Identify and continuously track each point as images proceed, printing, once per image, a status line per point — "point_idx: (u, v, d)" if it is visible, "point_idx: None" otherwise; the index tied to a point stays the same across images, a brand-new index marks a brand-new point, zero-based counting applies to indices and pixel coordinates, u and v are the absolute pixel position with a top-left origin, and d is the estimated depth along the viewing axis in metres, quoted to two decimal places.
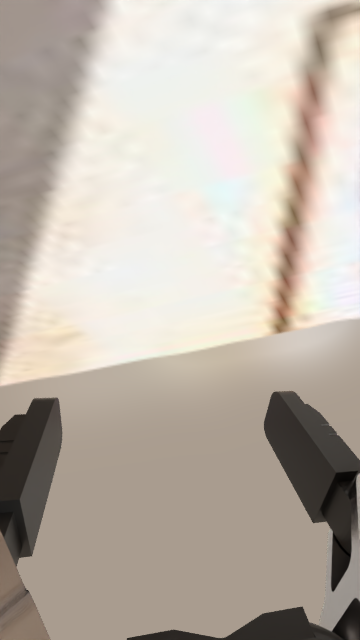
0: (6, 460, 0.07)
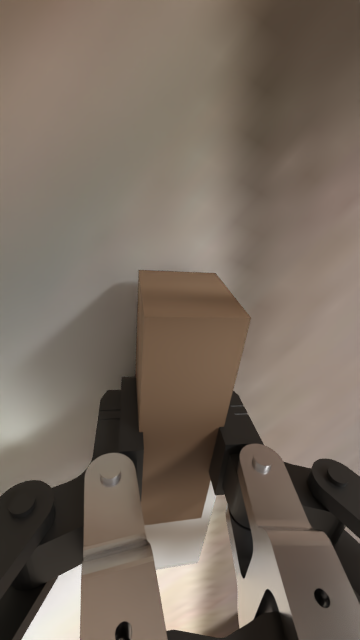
0: (120, 422, 0.09)
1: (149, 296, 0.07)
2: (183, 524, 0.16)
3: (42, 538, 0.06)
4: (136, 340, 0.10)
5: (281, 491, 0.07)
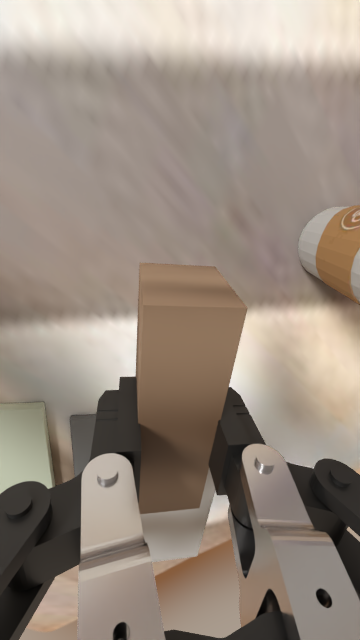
0: (118, 423, 0.09)
1: (148, 287, 0.08)
2: (182, 517, 0.16)
3: (38, 539, 0.06)
4: (137, 332, 0.11)
5: (284, 491, 0.07)
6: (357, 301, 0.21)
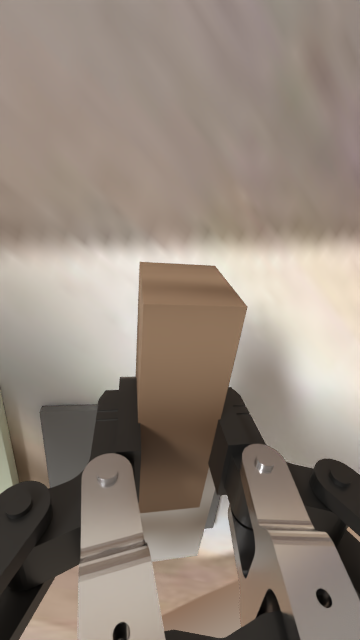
0: (118, 423, 0.09)
1: (148, 286, 0.08)
2: (182, 516, 0.16)
3: (38, 539, 0.06)
4: (137, 331, 0.11)
5: (284, 491, 0.07)
6: None
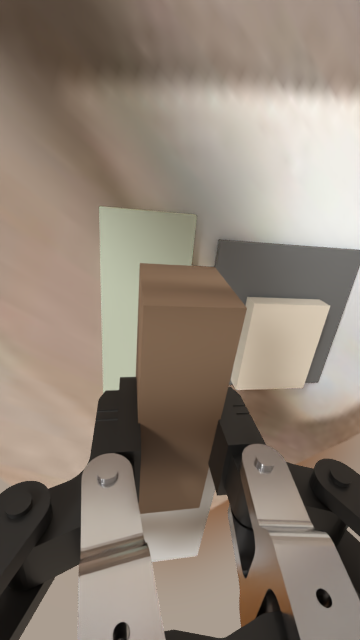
0: (118, 423, 0.09)
1: (148, 287, 0.08)
2: (182, 516, 0.16)
3: (38, 539, 0.06)
4: (137, 332, 0.11)
5: (284, 491, 0.07)
6: None
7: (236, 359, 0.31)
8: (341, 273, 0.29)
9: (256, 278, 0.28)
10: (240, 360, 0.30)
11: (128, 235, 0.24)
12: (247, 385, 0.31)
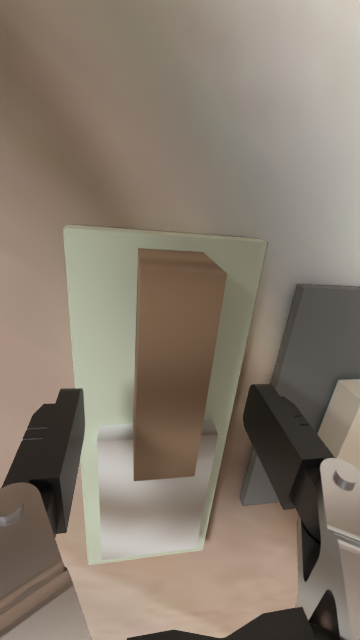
0: (42, 443, 0.08)
1: (145, 260, 0.09)
2: (180, 501, 0.16)
3: None
4: (136, 312, 0.12)
5: None
6: None
7: None
8: None
9: (358, 349, 0.15)
10: None
11: (128, 284, 0.12)
12: None
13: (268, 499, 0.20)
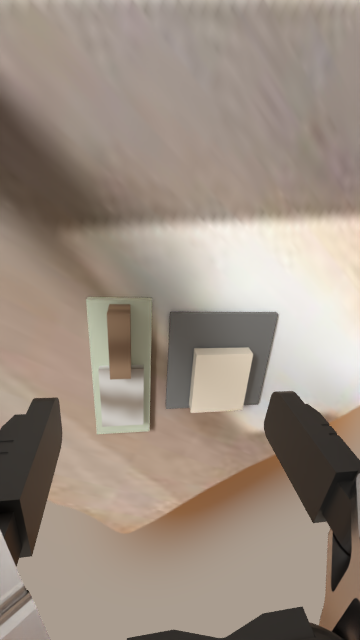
0: (6, 460, 0.07)
1: (109, 310, 0.33)
2: (133, 398, 0.41)
3: None
4: None
5: None
6: None
7: (190, 390, 0.42)
8: (263, 329, 0.40)
9: (200, 335, 0.39)
10: (192, 392, 0.41)
11: (106, 315, 0.36)
12: (199, 409, 0.42)
13: (177, 405, 0.44)
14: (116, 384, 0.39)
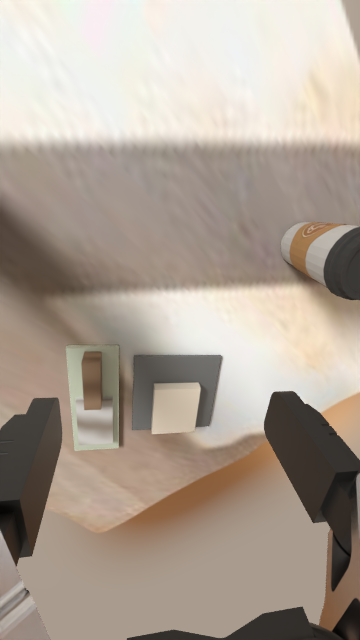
0: (6, 460, 0.07)
1: (83, 358, 0.43)
2: (104, 423, 0.50)
3: None
4: None
5: None
6: (310, 276, 0.37)
7: (152, 416, 0.52)
8: (209, 368, 0.50)
9: (158, 373, 0.49)
10: (152, 417, 0.51)
11: None
12: (158, 431, 0.52)
13: (141, 427, 0.54)
14: (90, 412, 0.49)
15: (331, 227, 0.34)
